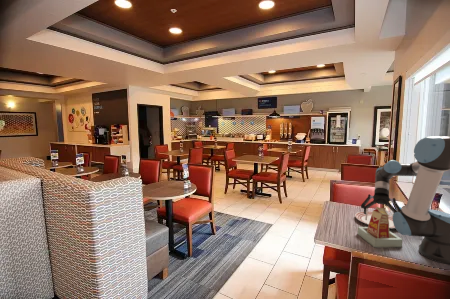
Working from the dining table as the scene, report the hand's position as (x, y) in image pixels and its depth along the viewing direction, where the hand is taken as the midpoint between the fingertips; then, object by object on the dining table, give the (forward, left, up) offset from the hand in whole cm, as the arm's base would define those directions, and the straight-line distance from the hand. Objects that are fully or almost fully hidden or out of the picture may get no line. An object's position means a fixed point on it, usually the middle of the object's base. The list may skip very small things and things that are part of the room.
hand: (380, 222), depth 131 cm
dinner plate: (+26, -17, -13) cm, 34 cm away
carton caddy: (+2, -1, -12) cm, 12 cm away
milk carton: (+2, -1, -12) cm, 12 cm away
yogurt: (+34, -41, -12) cm, 55 cm away
